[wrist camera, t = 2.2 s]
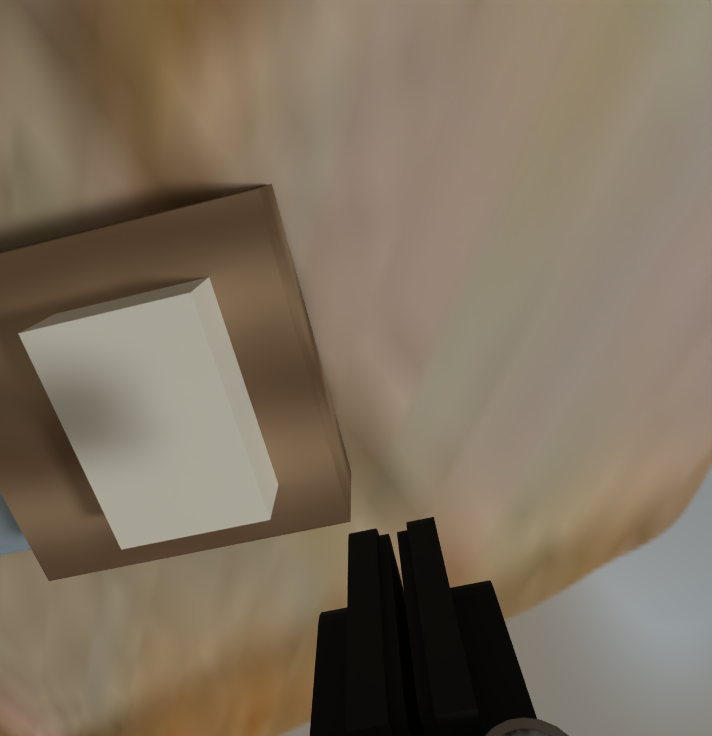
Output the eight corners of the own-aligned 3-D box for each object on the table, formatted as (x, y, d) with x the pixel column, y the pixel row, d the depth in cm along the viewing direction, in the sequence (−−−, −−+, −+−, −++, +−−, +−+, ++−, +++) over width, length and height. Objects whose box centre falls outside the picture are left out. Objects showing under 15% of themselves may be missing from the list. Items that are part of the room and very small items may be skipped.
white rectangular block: (54, 314, 21) (18, 333, 18) (209, 276, 20) (190, 292, 18) (143, 512, 24) (121, 549, 21) (278, 484, 23) (270, 519, 21)
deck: (-41, 262, 24) (-115, 282, 20) (271, 184, 23) (254, 189, 19) (88, 525, 29) (48, 581, 25) (351, 472, 28) (350, 521, 24)
